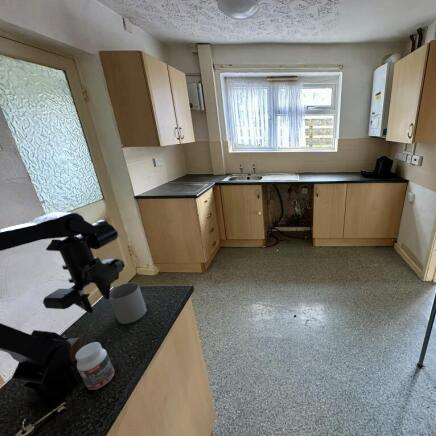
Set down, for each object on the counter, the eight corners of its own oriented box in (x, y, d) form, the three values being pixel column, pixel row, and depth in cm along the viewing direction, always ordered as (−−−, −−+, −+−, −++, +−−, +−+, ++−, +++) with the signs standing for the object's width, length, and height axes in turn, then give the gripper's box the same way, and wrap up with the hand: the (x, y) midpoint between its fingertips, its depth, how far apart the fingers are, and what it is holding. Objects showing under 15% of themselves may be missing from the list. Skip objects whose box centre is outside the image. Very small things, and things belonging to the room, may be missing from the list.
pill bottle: (97, 393, 56) (82, 364, 53) (81, 386, 58) (65, 358, 54) (120, 371, 61) (108, 343, 58) (105, 365, 63) (91, 337, 59)
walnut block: (73, 363, 64) (66, 351, 62) (55, 365, 64) (49, 353, 62) (84, 348, 68) (79, 337, 67) (68, 350, 68) (62, 339, 66)
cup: (132, 325, 76) (123, 300, 72) (111, 322, 77) (101, 297, 74) (152, 306, 83) (144, 283, 80) (132, 304, 85) (124, 281, 81)
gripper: (71, 280, 52) (96, 333, 58) (133, 242, 69) (147, 285, 75) (28, 279, 53) (56, 331, 59) (99, 241, 71) (115, 284, 76)
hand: (99, 305), depth 67 cm, fingers open, 5 cm apart
